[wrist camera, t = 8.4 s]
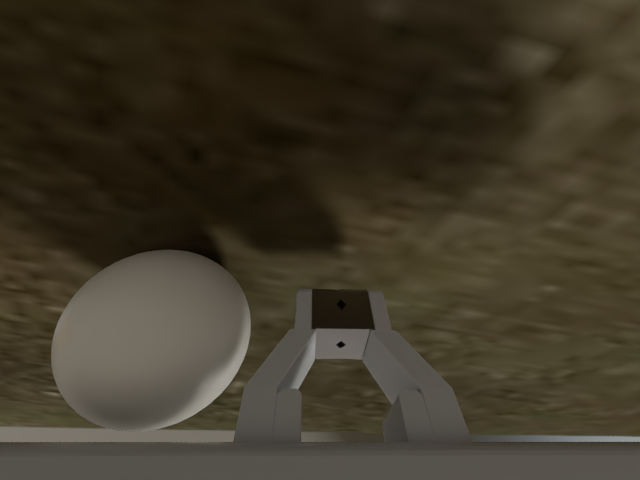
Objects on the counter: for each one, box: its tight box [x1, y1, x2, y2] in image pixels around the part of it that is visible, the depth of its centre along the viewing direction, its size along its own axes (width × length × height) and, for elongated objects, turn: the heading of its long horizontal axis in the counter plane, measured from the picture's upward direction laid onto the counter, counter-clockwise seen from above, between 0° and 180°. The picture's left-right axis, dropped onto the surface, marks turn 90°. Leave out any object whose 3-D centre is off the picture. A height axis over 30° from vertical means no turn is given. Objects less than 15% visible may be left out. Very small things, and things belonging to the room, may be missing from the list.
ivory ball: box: [51, 250, 251, 432], centre depth 9 cm, size 6×6×6 cm
